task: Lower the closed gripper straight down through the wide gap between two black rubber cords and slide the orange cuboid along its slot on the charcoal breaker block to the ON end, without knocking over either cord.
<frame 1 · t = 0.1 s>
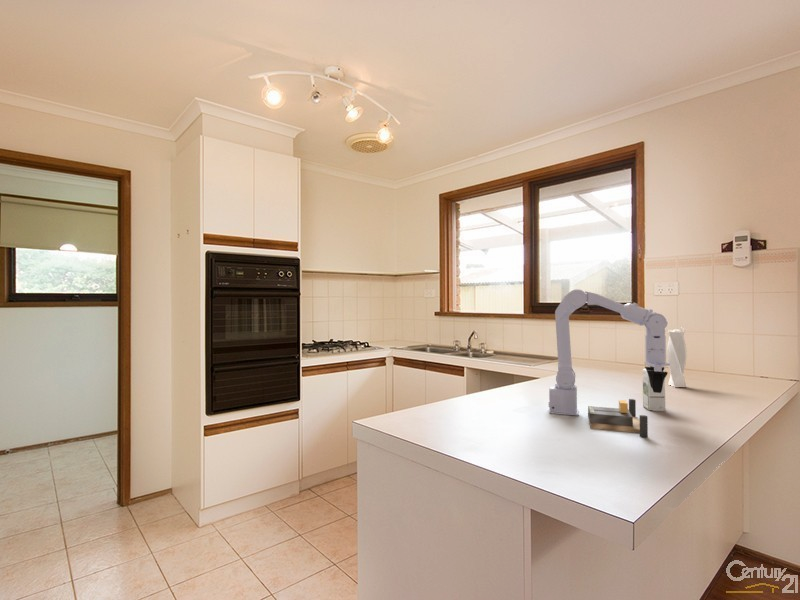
hand: (655, 390, 138), 10 cm above the countertop, tool pointing down, fingers open, 7 cm apart
skyscraper: (677, 387, 192), on the countertop
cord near: (643, 436, 121), on the countertop
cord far: (632, 417, 142), on the countertop
orange cuboid: (623, 406, 133), point 6 cm above the countertop, slide at 0.0 cm
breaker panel: (614, 424, 134), on the countertop
syrup box: (654, 409, 152), on the countertop
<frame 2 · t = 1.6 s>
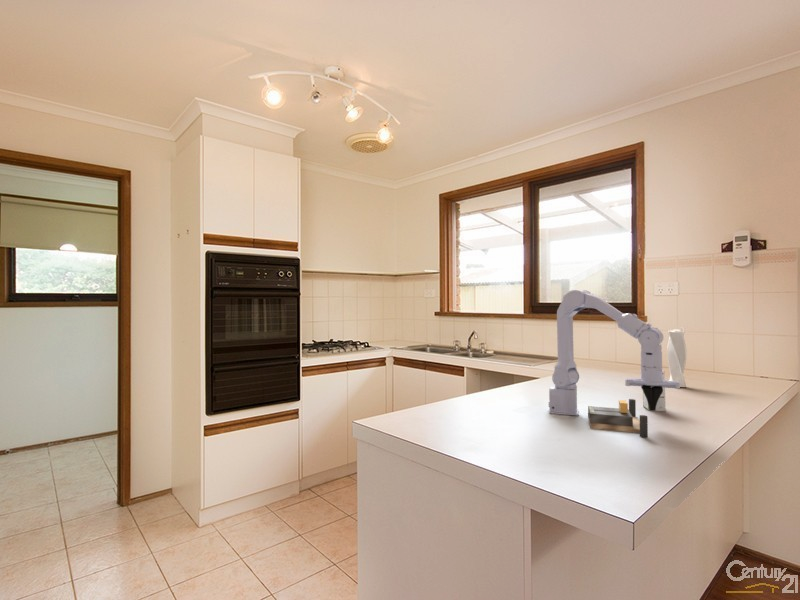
hand: (652, 410, 130), 5 cm above the countertop, tool pointing down, fingers closed
nothing on the countertop moved.
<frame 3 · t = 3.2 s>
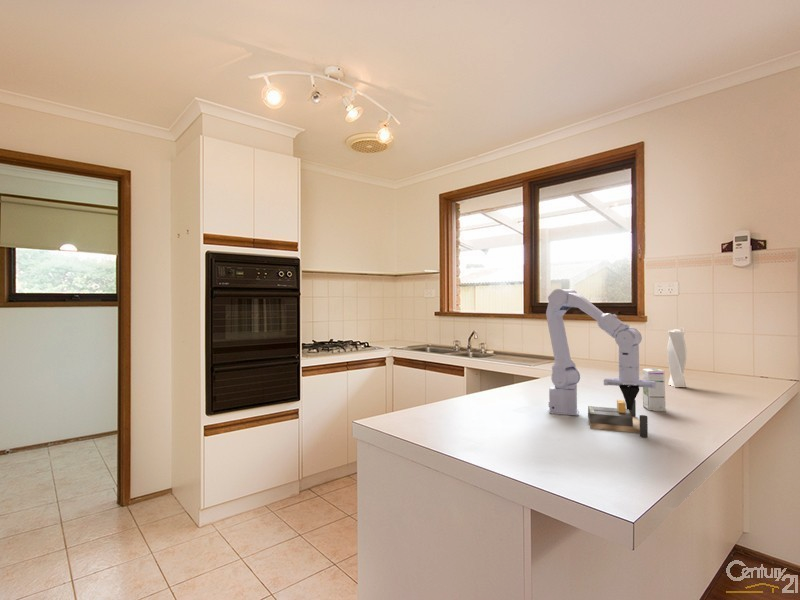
hand: (629, 409, 132), 5 cm above the countertop, tool pointing down, fingers closed
orange cuboid: (621, 406, 133), point 6 cm above the countertop, slide at 0.6 cm, touching gripper
everything else where it was.
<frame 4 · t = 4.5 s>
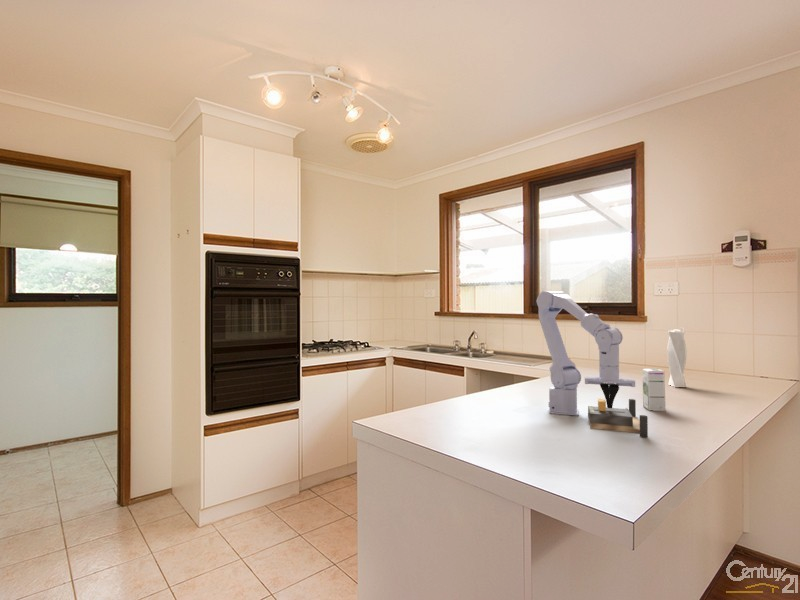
hand: (609, 407, 134), 5 cm above the countertop, tool pointing down, fingers closed
orange cuboid: (601, 404, 135), point 6 cm above the countertop, slide at 6.2 cm, touching gripper
everything else where it was.
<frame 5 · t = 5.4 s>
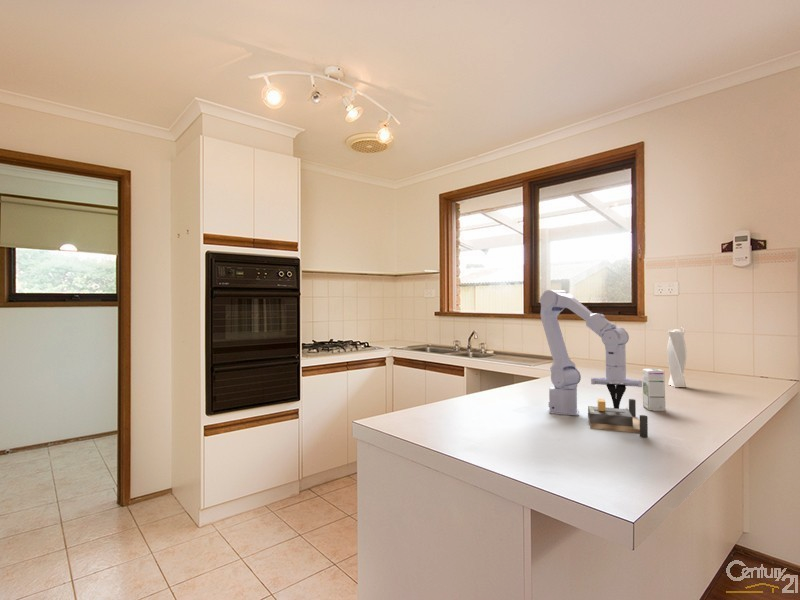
hand: (616, 407, 134), 5 cm above the countertop, tool pointing down, fingers closed
orange cuboid: (601, 404, 135), point 6 cm above the countertop, slide at 6.3 cm
everything else where it was.
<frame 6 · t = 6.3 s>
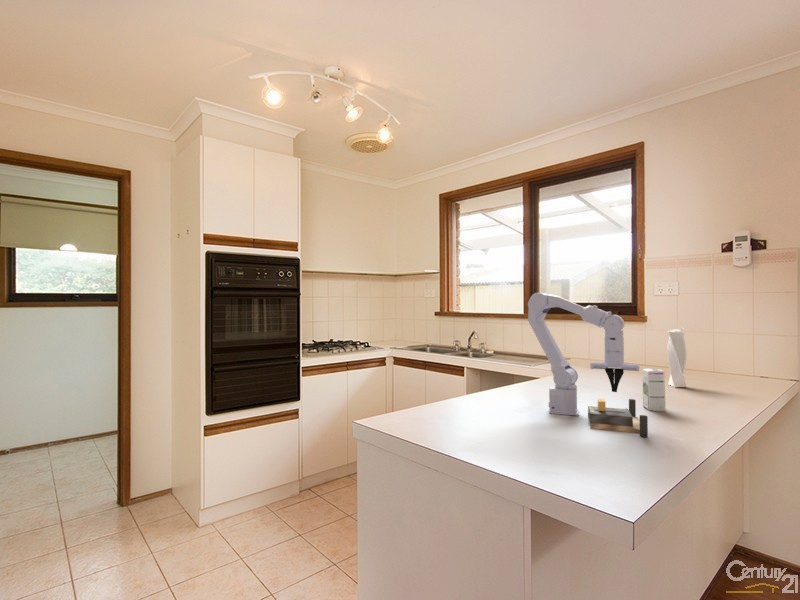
hand: (614, 391, 139), 9 cm above the countertop, tool pointing down, fingers closed
nothing on the countertop moved.
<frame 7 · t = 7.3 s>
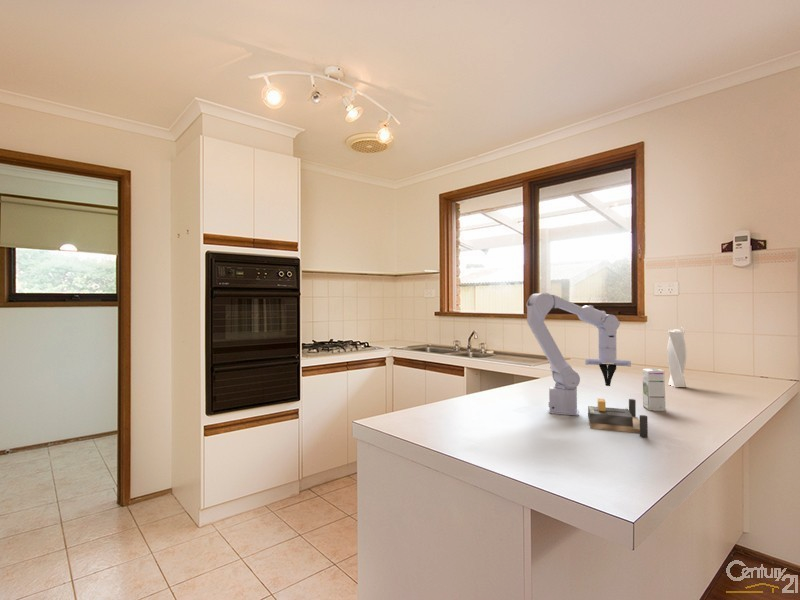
hand: (607, 385, 149), 9 cm above the countertop, tool pointing down, fingers closed
nothing on the countertop moved.
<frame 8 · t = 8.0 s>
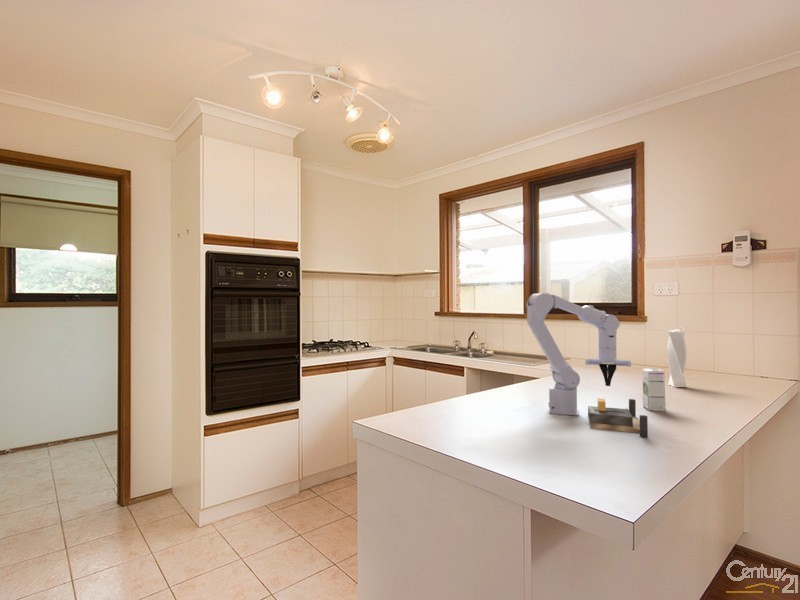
hand: (607, 385, 149), 9 cm above the countertop, tool pointing down, fingers closed
nothing on the countertop moved.
at the end: orange cuboid slide at 6.3 cm; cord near tilted 0°; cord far tilted 0° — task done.
